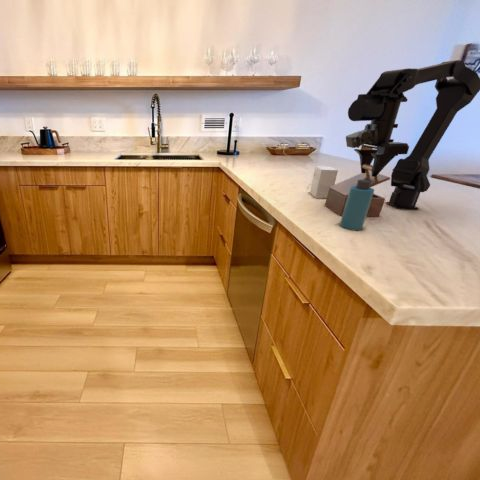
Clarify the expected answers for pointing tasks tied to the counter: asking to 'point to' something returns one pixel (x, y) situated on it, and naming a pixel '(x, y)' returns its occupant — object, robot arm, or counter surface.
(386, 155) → the robot arm
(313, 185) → the small box
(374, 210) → the chest
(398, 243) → the counter surface
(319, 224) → the counter surface
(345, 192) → the chest lid
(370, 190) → the detergent bottle
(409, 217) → the counter surface
